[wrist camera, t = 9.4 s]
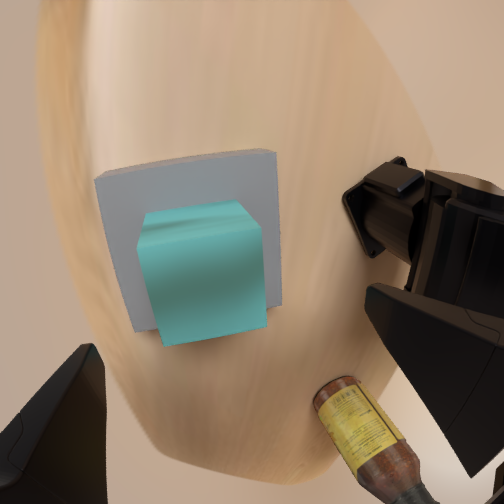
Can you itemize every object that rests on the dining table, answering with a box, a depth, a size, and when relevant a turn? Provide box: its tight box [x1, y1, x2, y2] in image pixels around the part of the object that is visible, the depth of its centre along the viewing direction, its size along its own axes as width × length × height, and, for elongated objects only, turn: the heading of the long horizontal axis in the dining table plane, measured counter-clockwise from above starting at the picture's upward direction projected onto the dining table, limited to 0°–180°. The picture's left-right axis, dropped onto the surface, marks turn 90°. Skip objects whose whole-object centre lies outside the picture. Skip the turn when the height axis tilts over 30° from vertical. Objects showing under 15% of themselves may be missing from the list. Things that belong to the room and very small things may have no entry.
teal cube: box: [137, 199, 267, 347], centre depth 15 cm, size 5×5×5 cm
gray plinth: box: [94, 149, 282, 332], centre depth 18 cm, size 10×10×3 cm
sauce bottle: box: [314, 376, 440, 504], centre depth 23 cm, size 7×6×20 cm
